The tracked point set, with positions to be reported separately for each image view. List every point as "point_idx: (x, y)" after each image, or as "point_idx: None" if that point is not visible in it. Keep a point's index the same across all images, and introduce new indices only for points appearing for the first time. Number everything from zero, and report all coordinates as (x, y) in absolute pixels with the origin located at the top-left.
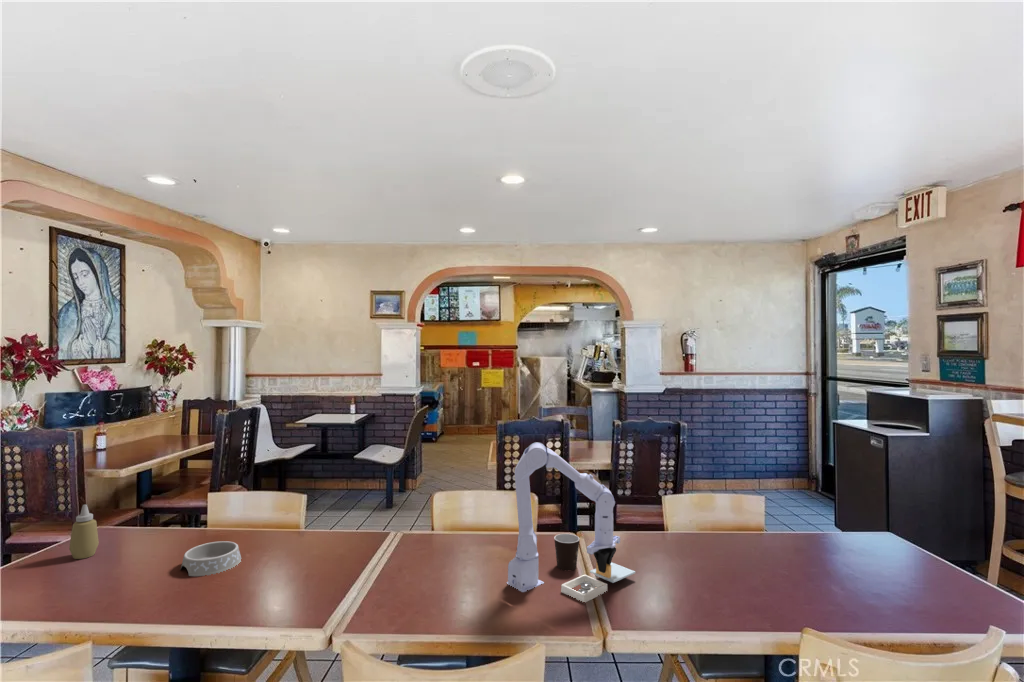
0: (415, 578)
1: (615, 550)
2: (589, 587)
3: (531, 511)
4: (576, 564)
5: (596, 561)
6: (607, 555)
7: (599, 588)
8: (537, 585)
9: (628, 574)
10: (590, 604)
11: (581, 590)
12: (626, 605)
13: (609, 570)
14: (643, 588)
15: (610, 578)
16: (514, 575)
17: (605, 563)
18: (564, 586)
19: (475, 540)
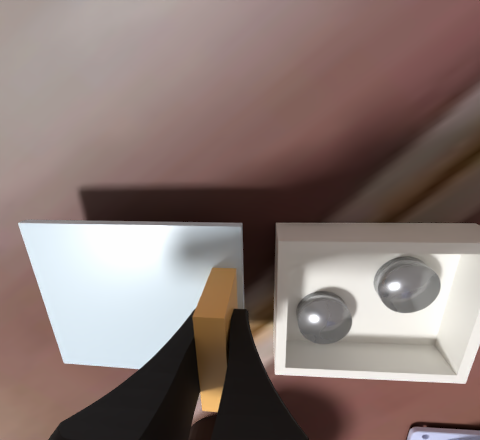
0: None
1: (71, 438)
2: (329, 296)
3: None
4: (197, 437)
5: None
6: (239, 424)
7: (355, 240)
8: (457, 434)
9: (87, 224)
10: (453, 201)
11: (404, 299)
12: (324, 53)
13: (222, 296)
14: (79, 124)
15: (229, 259)
16: None
17: (242, 355)
18: (469, 365)
19: None
